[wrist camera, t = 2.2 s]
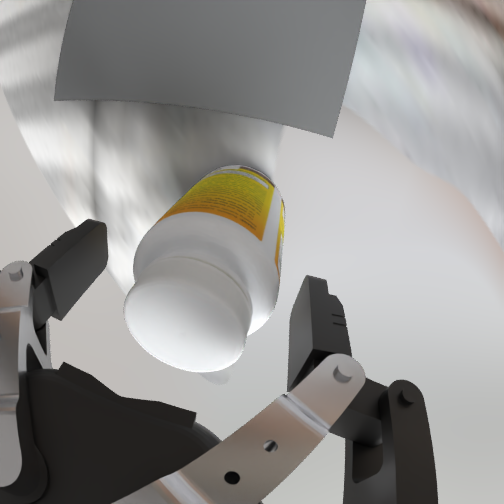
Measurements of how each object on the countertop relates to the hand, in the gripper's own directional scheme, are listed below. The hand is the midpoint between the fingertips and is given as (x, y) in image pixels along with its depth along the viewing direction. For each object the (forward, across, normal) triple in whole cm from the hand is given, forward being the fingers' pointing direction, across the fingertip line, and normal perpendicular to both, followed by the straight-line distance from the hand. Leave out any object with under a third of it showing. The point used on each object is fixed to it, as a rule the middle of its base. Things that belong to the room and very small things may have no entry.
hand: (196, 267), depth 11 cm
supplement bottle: (+7, -1, 0) cm, 7 cm away
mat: (+7, +5, -12) cm, 14 cm away
